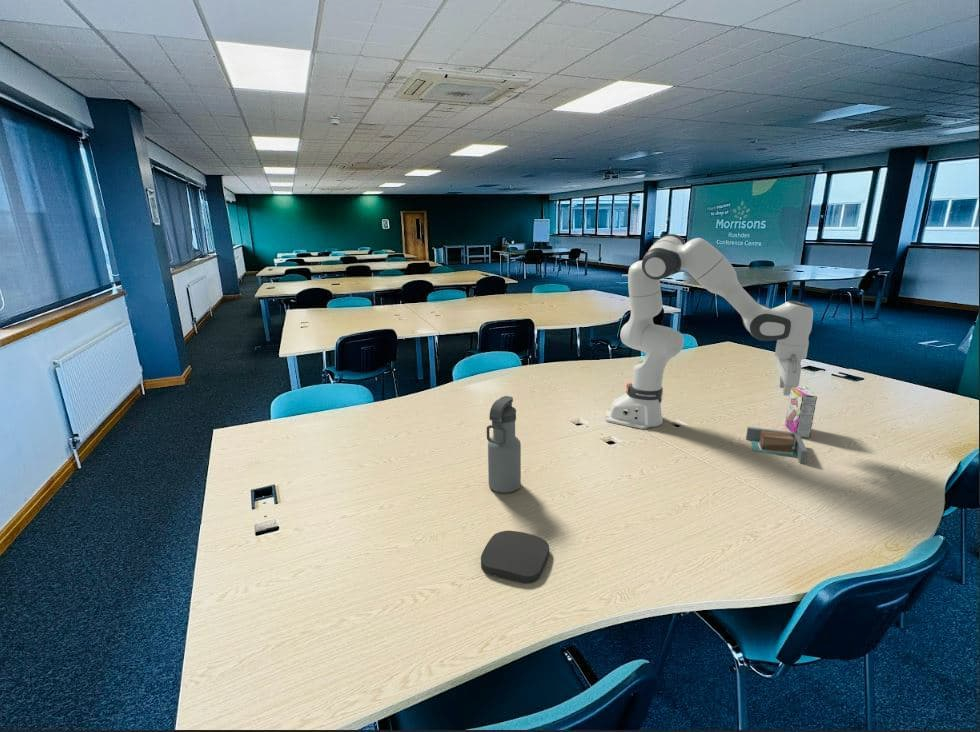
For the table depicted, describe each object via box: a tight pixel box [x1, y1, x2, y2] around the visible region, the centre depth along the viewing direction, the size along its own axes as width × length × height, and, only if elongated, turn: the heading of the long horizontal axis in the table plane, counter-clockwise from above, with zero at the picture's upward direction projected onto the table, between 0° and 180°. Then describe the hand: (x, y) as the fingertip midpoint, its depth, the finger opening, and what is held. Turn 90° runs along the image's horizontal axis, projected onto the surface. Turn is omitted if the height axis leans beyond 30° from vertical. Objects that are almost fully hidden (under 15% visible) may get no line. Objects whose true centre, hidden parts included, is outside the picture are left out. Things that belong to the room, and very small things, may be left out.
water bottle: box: [486, 395, 522, 494], centre depth 144 cm, size 10×10×28 cm
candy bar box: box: [784, 385, 818, 439], centre depth 179 cm, size 11×5×16 cm, turn 168°
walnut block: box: [758, 431, 794, 453], centre depth 167 cm, size 4×9×5 cm, turn 72°
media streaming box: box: [480, 530, 550, 584], centre depth 116 cm, size 15×15×3 cm
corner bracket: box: [745, 426, 808, 465], centre depth 167 cm, size 16×15×4 cm
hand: (784, 391), depth 162 cm, fingers open, 6 cm apart
